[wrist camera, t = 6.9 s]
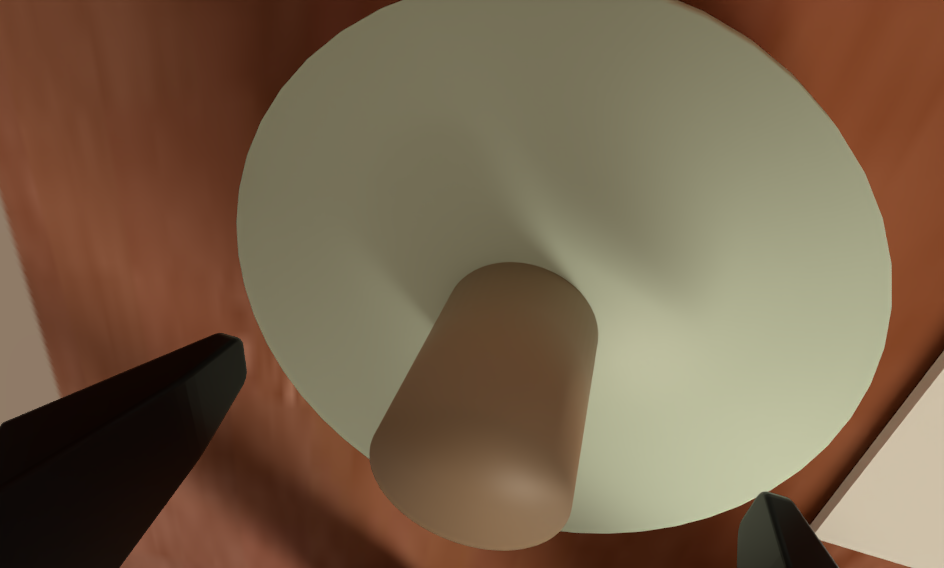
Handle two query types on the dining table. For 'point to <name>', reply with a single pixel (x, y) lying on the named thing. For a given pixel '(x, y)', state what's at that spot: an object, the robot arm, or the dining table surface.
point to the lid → (563, 263)
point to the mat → (897, 486)
